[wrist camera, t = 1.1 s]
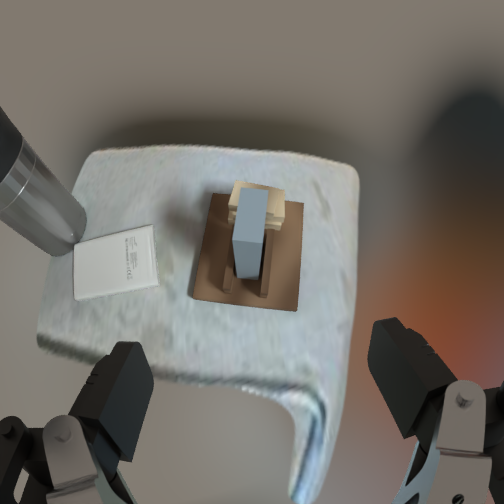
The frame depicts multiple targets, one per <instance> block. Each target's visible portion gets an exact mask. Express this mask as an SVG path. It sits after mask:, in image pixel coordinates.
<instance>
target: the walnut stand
mask: <svg viewBox="0 0 504 504" xmlns="http://www.w3.org/2000/svg"><path fill="white" fill-rule="evenodd" d="M230 197H231V195H228V194H217V193H213V195H212V200H211V204H210V209H209V214H208V218H207V223H206V228H205V233H204V238H203V243H202V248H201V253H200V259H199V264H198V269H197V275H196V280H195V286H194V292H193V297H192V298H193V299H196V300H203V301H210V302H217V303H224V304H232V305H240V306H248V307H257V308H265V309H275V310H284V311H294V312H296V311H297V307H298V295H299V281H300V267H301V250H302V231H303V208H304V203H299V202H292V201H285V218H284V222H283V223H281V229H280V230H275V229H270V228H268V229H264V236H263V245H262V253H261V261H260V269H259V277H258V280H251V279H243V278H237V272H236V264H235V257H234V249H233V242H232V238H233V232H234V226H235V225H234V224H233V225H229V224H228V216H229V207H228V203H229V200H230Z"/></svg>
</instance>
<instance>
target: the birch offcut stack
mask: <svg viewBox="0 0 504 504" xmlns="http://www.w3.org/2000/svg"><path fill="white" fill-rule="evenodd" d="M241 187H243V188H253V189H262V190H269V191H268V200H267V209H266V218H265V227H264V229H268V228H270V229H275V230H280V229H281V223H283V222H284V218H285V190H280V189H278V188H273V187H269V186H263V185H258V184H253V183H248V182H243V181H237V180H236V181H235V184H234V187H233V191H232V194H231V197H230V200H229V203H228V207H229V216H228V224H229V225H233V224H234V225H235V220H236V214H237V207H238V201H239V195H240V189H241Z"/></svg>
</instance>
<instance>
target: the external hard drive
mask: <svg viewBox="0 0 504 504" xmlns="http://www.w3.org/2000/svg"><path fill="white" fill-rule="evenodd" d="M158 286H160V279H159V270H158V261H157V258H156V240H155V228H154V226H153V225H149V226H145V227H140V228H136V229H132V230H127V231H123V232H119V233H115V234H111V235H107V236H103V237H99V238H96V239H92V240H88V241H84V242H81V243H77V244H75V245H74V299H75V300H76V301H84V300H90V299H95V298H100V297H106V296H111V295H116V294H122V293H127V292H132V291H137V290H143V289H148V288H153V287H158Z"/></svg>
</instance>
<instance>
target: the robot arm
mask: <svg viewBox="0 0 504 504" xmlns="http://www.w3.org/2000/svg"><path fill="white" fill-rule="evenodd" d="M0 220H1V221H3V222H4V223H5V224H7V225H8V226H9V227H11V228H12V229H13V230H15V231H16V232H17V233H19V234H20V235H22V236H23V237H25V238H26V239H28V240H29V241H30V242H32V243H33V244H34V245H36V246H37V247H39V248H41V249H42V250H44V251H45V252H46V253H48V254H50V255H51V256H62V255H65V254H67V253H68V252H70V251H71V250H72V249H73V248H74V245H75V244H77V243H78V242H79V241H80V239H81V237H82V235H83V233H84V231H85V227H86V213H85V210H84V208H83V207H82V206H81V204H80V203H79V202H78V201H77V200H76V199H75V198H74V197H73V196H72V195H71V193H70V192H69V191H68V190H67V189H66V188H65V187H64V186H63V185H62V183H61V182H60V181H59V180H58V179H57V178H56V176H55V175H54V174H53V173H52V172H51V171H50V169H49V168H48V167H47V166H46V165H45V164H44V162H43V161H42V160H41V159H40V157H39V156H38V155H37V154H36V152H35V151H34V150H33V149H32V148H31V146H30V145H29V144H28V143H27V141H26V140H25V139H24V137H23V136H22V135H21V133H20V132H19V131H18V130H17V128H16V127H15V126H14V125H13V123H12V122H11V121H10V119H9V118H8V117H7V115H6V114H5V112H4V111H3V110H2V108H1V107H0ZM368 367H369V370H370V372H371V374H372V376H373V378H374V380H375V382H376V384H377V386H378V388H379V390H380V392H381V394H382V395H383V398H384V400H385V401H386V403H387V406H388V407H389V409H390V412H391V414H392V415H393V418H394V419H395V422H396V424H397V426H398V428H399V430H400V432H401V434H402V436H403V438H404V439H406V438H408V437H411V436H414V435H416V437H417V438H418V442H417V443H416V445H415V448H414V452H413V455H412V458H411V461H410V464H409V467H408V470H407V473H406V475H405V478H404V480H403V483H402V486H401V488H400V490H399V492H398V494H397V496H396V497H395V499H394V500H393V502H392V503H391V504H485V501H486V497H487V492H488V488H489V490H490V492H491V494H492V497H493V499H494V502H495V504H504V381H503V383H502V385H501V387H496V388H491V389H485V390H482V389H481V387H480V386H479V385H477V384H476V383H474V382H471V381H468V380H459V381H458V380H457V378H456V377H455V376H454V374H453V373H452V372H451V371H450V369H449V368H448V367H447V366H446V364H445V363H444V362H443V361H442V359H441V358H440V357H439V356H438V354H435V351H434V350H433V348H432V347H431V346H429V344H428V343H427V341H426V340H425V339H424V338H423V336H422V335H420V334H419V333H417V332H415V331H414V330H412V329H410V328H408V329H406V328H405V327H404V326H403V324H402V323H401V322H400V321H399V320H398V319H397V318H396V317H393V318H389V319H383V320H378V321H375V322H374V324H373V329H372V335H371V340H370V346H369V351H368ZM153 387H154V380H153V375H152V372H151V369H150V367H149V364H148V362H147V359H146V356H145V354H144V351H143V348H142V346H141V344H140V343H139V342H125V341H119V342H117V343H116V345H115V346H114V348H113V350H112V352H111V353H110V355H106V356H104V357H103V358H102V359H101V360H100V361H99V362H97V363H96V365H95V367H94V368H93V370H92V372H91V376H89V377H88V379H87V381H86V384H85V385H84V386H83V388H82V389H81V391H80V393H79V395H78V397H77V399H76V401H75V403H74V404H73V406H72V408H71V410H70V412H69V414H68V415H61V416H57V417H55V418H53V419H51V420H50V421H49V422H48V423H47V424H46V426H45V427H44V428H27V427H26V426H25V424H24V423H23V422H22V421H21V419H19V418H18V417H16V416H8V417H6V418H4V419H2V420H1V421H0V504H18V503H17V502H16V501H15V499H14V494H13V493H14V489H15V486H16V483H17V480H18V478H19V475H20V472H21V470H22V468H23V469H24V470H25V471H26V472H28V474H29V477H28V480H27V483H26V486H25V488H24V492H23V494H22V498H21V501H20V502H19V504H137V502H136V500H135V498H134V497H133V495H132V493H131V491H130V489H129V488H128V486H127V484H126V482H125V480H124V478H123V476H122V474H121V472H120V471H119V469H118V468H117V466H118V463H119V460H122V461H127V462H132V459H133V455H134V452H135V448H136V444H137V441H138V438H139V434H140V431H141V427H142V424H143V421H144V417H145V414H146V411H147V408H148V404H149V401H150V398H151V395H152V392H153Z"/></svg>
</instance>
